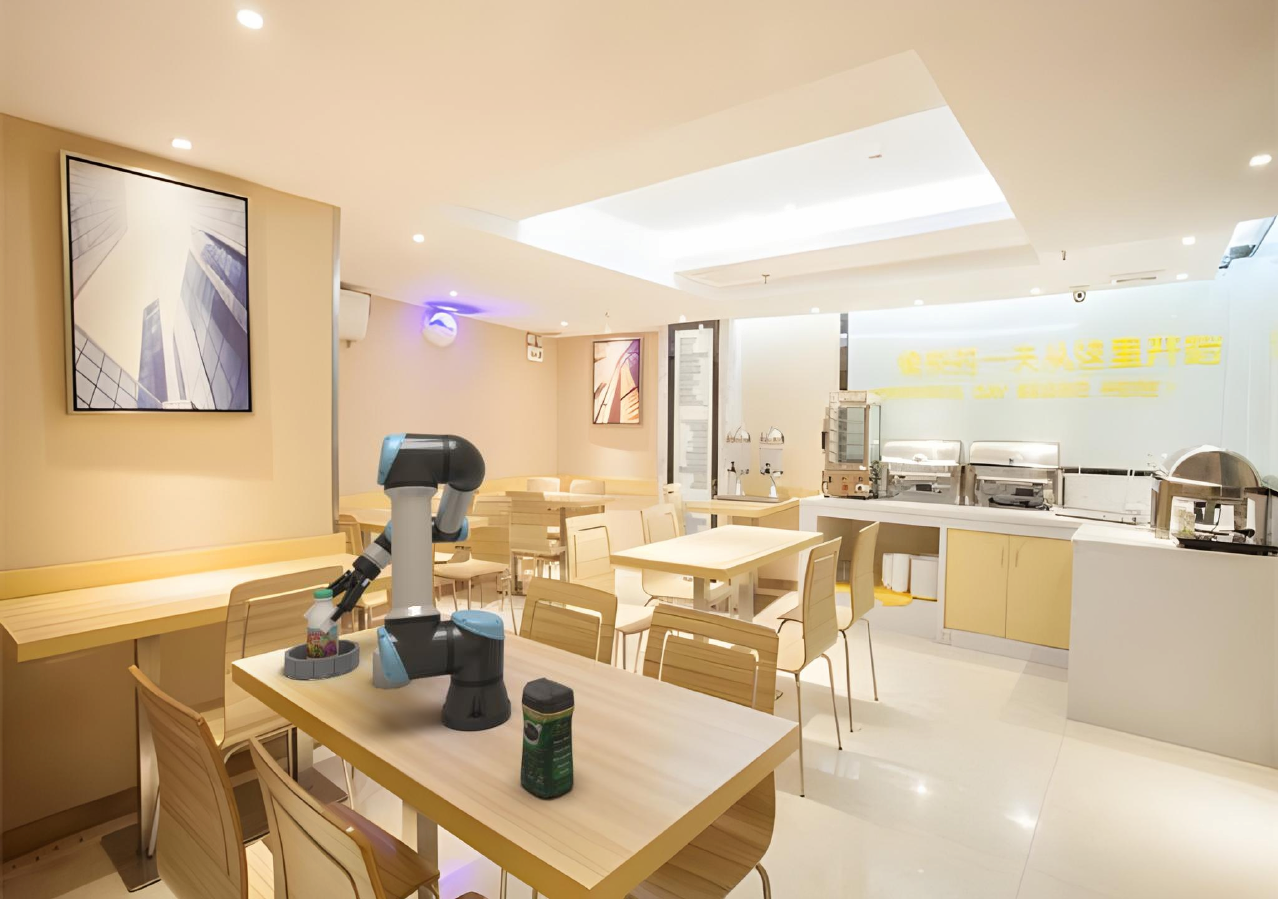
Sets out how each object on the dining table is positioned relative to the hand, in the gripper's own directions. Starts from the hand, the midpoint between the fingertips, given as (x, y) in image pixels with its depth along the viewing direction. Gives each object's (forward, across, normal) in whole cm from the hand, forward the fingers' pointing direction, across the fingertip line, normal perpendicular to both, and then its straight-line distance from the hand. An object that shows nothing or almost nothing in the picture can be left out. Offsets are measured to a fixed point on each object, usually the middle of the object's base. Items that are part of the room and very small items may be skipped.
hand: (313, 624), depth 172 cm
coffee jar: (-2, -89, -20) cm, 91 cm away
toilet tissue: (-1, -21, -18) cm, 28 cm away
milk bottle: (+6, 0, -10) cm, 12 cm away
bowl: (+7, 0, -10) cm, 12 cm away
